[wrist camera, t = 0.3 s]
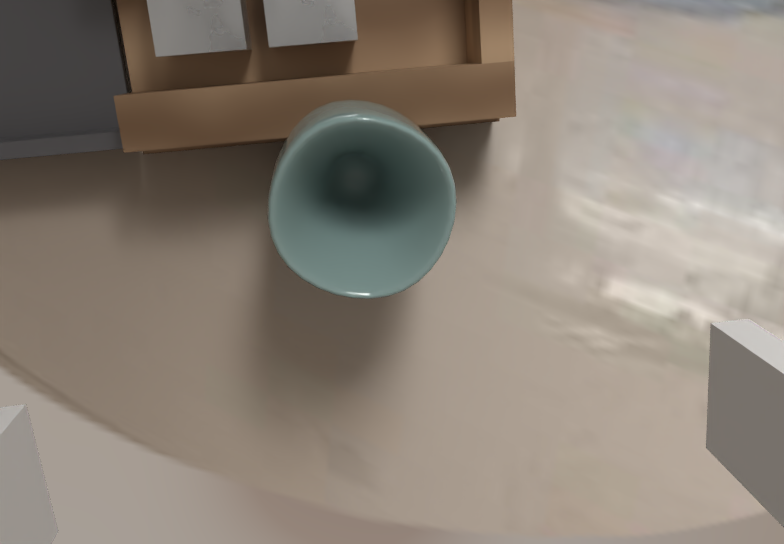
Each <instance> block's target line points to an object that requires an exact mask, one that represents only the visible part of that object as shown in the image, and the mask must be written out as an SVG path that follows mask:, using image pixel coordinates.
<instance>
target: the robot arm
mask: <svg viewBox="0 0 784 544" xmlns="http://www.w3.org/2000/svg"><path fill="white" fill-rule="evenodd" d="M706 448H707V449H708V450H709V451H710V452H711V453H712V454H713V455H714V456H715V457H716V458H717V459H718V460H719V461H720V463H721V464H722V465H723V466H724V467H725V468H726V469H727V470H728V471H729V472H730V473H731V474H732V475H733V476H734V477H735V478H736V479H737V480H738V481H739V482H740V483H741V484H742V485H743V486H744V487H745V488H746V489H747V490H748V491H749V492H750V493H751V494H752V495H753V496H754V497H755V498H756V499H757V501H758V502H759V503H760V504H761V505H762V506H763V507H764V508H765V509H766V510H767V511H768V512H769V513H770V514H771V515H772V516H773V517H774V518H775V519H776V520H777V521H778V522H779V523H780V524H781V525H782V526H783V527H784V341H783V340H782V339H780V338H778V337H777V336H775V335H774V334H772V333H770V332H769V331H767V330H766V329H764V328H762V327H761V326H759V325H758V324H756V323H754V322H753V321H751V320H750V319H741V320H733V321H724V322H716V323H711V330H710V356H709V382H708V409H707V435H706ZM57 533H58V528H57V524H56V521H55V517H54V512H53V509H52V505H51V501H50V497H49V493H48V489H47V485H46V481H45V477H44V473H43V469H42V465H41V461H40V457H39V453H38V449H37V445H36V441H35V437H34V433H33V429H32V425H31V422H30V418H29V413H28V410H27V406H26V404H22V405H14V406H5V407H0V544H52V542H53V540H54V538H55V536H56V534H57Z"/></svg>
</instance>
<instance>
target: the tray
mask: <svg viewBox="0 0 784 544" xmlns="http://www.w3.org/2000/svg"><path fill="white" fill-rule="evenodd" d="M126 93H130V92H129V87H128V81H127V75H126V70H125V64H124V58H123V53H122V47H121V41H120V36H119V30H118V24H117V19H116V13H115V7H114V2H113V0H0V160H5V159H16V158H27V157H37V156H48V155H59V154H70V153H81V152H92V151H102V150H113V149H123V146H122V140H121V135H120V130H119V124H118V119H117V113H116V108H115V102H114V97H113V96H116V95H121V94H126Z"/></svg>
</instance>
